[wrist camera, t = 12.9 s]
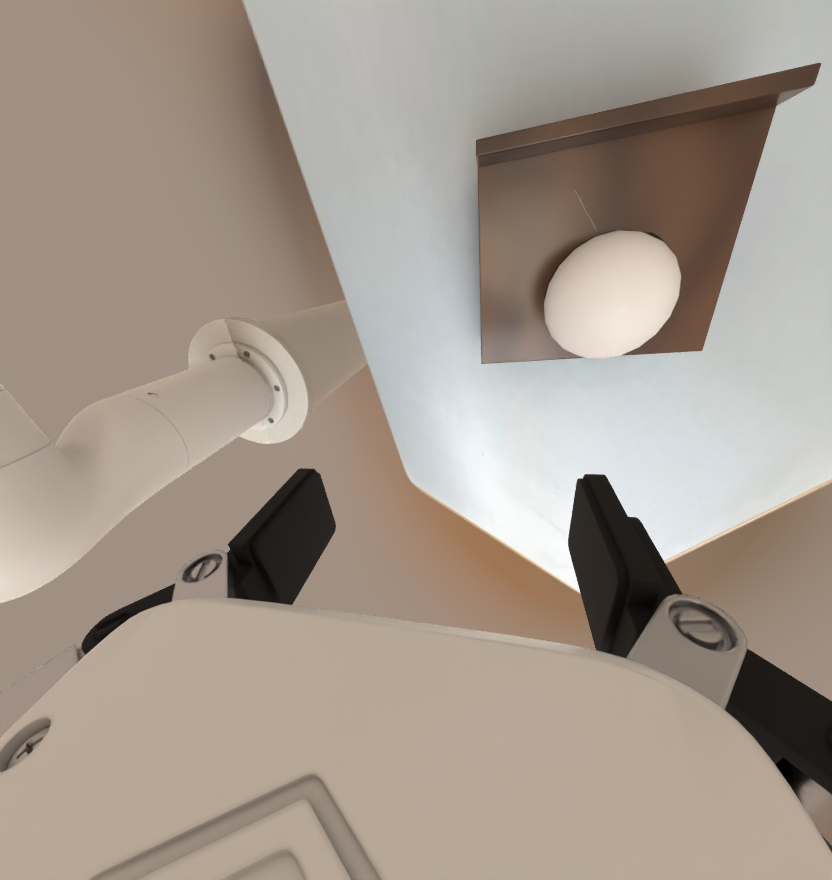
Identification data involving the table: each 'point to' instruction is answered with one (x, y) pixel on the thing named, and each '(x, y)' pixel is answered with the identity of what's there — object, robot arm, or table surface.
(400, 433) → the table surface
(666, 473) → the table surface
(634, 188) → the shelf
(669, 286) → the cream oval egg shape
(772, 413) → the table surface
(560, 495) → the table surface
